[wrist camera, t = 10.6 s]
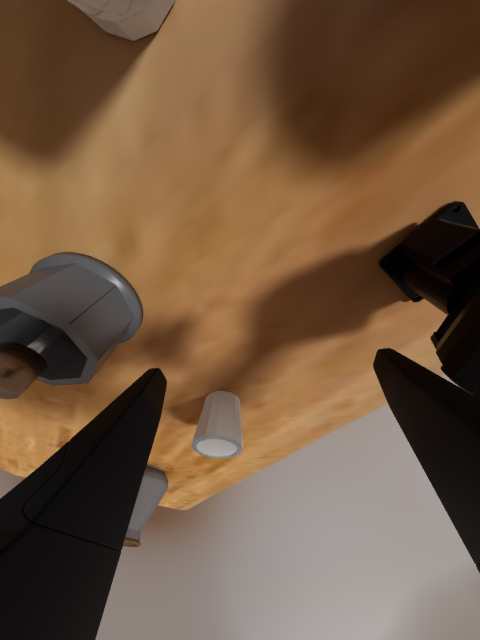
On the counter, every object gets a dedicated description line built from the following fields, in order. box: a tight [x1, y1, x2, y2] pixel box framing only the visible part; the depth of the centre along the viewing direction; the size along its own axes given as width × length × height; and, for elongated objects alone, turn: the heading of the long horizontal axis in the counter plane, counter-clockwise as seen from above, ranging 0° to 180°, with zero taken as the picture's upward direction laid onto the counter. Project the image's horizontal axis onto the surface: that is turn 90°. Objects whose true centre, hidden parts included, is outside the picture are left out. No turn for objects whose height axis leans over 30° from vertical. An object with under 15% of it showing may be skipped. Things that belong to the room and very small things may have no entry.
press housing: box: [0, 252, 143, 386], centre depth 20 cm, size 13×11×8 cm
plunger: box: [0, 319, 73, 399], centre depth 17 cm, size 7×7×8 cm
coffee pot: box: [123, 465, 168, 547], centre depth 49 cm, size 21×12×15 cm, turn 146°
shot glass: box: [192, 391, 243, 458], centre depth 30 cm, size 7×7×7 cm
